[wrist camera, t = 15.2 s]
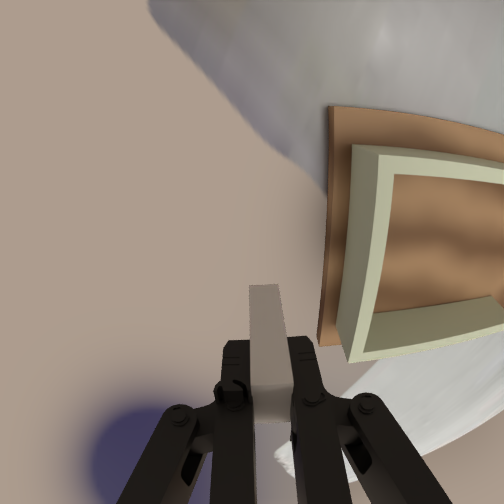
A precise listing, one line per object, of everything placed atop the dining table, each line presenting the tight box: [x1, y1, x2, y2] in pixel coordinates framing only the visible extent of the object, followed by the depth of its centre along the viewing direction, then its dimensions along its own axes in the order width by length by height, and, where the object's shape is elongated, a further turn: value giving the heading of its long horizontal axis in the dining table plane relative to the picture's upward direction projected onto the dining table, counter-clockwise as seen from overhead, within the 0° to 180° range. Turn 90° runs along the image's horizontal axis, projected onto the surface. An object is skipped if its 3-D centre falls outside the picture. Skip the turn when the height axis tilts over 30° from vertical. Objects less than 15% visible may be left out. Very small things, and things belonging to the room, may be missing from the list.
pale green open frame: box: [336, 144, 504, 363], centre depth 19 cm, size 15×19×4 cm
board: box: [317, 106, 504, 347], centre depth 21 cm, size 20×32×3 cm, turn 93°
